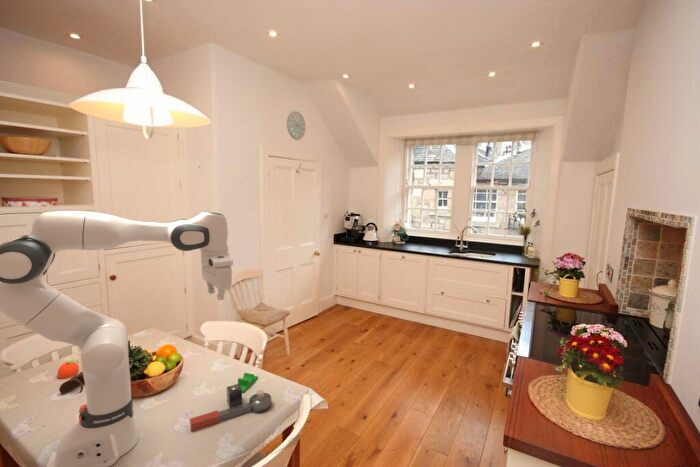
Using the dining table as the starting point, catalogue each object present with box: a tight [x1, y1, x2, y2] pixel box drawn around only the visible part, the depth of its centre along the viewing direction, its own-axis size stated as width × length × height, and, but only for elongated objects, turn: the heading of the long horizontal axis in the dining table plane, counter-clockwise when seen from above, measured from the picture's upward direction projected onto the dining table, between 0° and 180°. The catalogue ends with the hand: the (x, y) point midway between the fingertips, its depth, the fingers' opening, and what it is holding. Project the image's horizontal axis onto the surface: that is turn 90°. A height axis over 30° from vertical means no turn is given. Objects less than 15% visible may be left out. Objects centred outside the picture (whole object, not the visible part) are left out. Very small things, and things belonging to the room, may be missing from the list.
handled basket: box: [58, 371, 85, 396], centre depth 130 cm, size 18×12×7 cm, turn 83°
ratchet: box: [189, 388, 272, 432], centre depth 118 cm, size 28×8×6 cm, turn 122°
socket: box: [226, 383, 243, 409], centre depth 125 cm, size 5×5×6 cm
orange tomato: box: [57, 360, 80, 380], centre depth 139 cm, size 8×7×7 cm
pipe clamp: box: [237, 372, 259, 394], centre depth 137 cm, size 11×4×5 cm
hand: (215, 296), depth 115 cm, fingers open, 8 cm apart
